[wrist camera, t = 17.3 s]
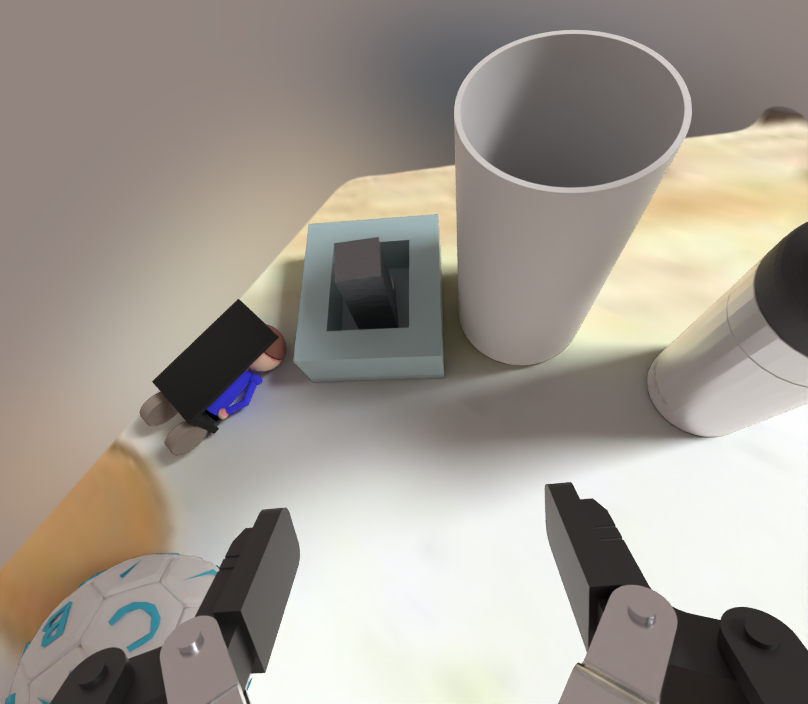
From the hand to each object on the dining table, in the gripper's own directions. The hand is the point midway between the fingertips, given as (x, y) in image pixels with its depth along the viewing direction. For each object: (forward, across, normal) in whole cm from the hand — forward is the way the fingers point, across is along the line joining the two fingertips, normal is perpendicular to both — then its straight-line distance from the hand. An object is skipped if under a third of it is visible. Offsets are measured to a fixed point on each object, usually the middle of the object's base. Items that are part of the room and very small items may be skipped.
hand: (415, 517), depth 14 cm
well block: (+37, +5, +4) cm, 37 cm away
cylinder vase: (+35, -10, +6) cm, 37 cm away
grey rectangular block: (+35, +5, +4) cm, 36 cm away
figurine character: (+32, +21, +9) cm, 39 cm away
